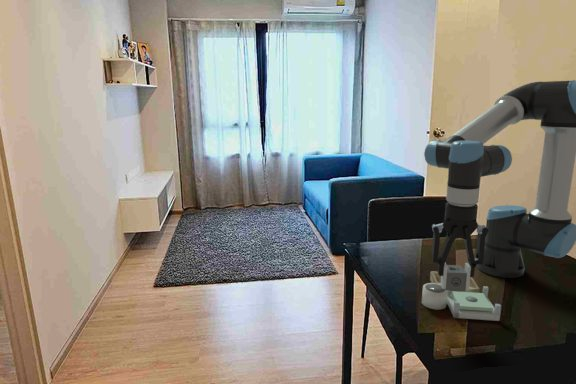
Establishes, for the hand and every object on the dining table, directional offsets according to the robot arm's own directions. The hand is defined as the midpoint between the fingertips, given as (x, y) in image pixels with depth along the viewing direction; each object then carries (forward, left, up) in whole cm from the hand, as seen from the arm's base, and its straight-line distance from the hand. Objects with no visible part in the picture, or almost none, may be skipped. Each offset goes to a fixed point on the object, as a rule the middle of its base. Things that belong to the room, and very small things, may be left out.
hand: (454, 287), depth 109 cm
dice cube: (0, -1, -1) cm, 1 cm away
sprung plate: (-8, -10, -9) cm, 16 cm away
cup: (+2, -12, -11) cm, 16 cm away
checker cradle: (-8, -10, -11) cm, 17 cm away
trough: (-6, -23, -11) cm, 26 cm away
